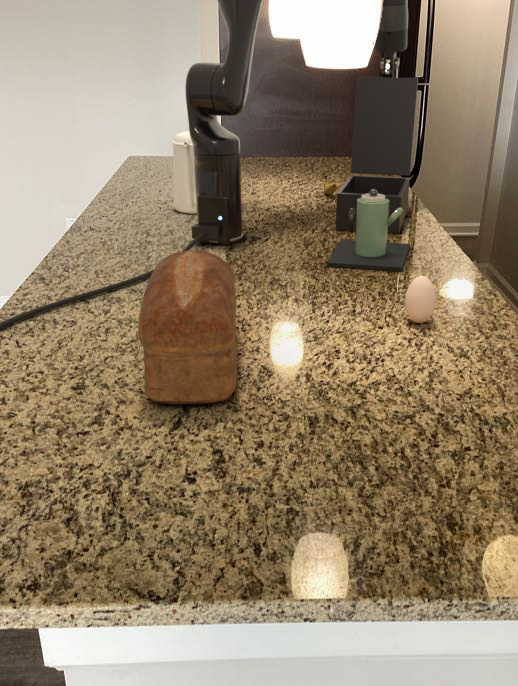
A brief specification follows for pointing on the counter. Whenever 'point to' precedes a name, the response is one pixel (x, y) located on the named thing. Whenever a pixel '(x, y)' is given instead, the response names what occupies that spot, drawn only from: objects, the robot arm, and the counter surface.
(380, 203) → the kettle
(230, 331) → the bread
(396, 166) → the storage bin lid
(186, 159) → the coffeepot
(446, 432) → the counter surface
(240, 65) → the robot arm
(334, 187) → the banana
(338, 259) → the mat
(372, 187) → the dark gray storage bin
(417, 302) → the egg
